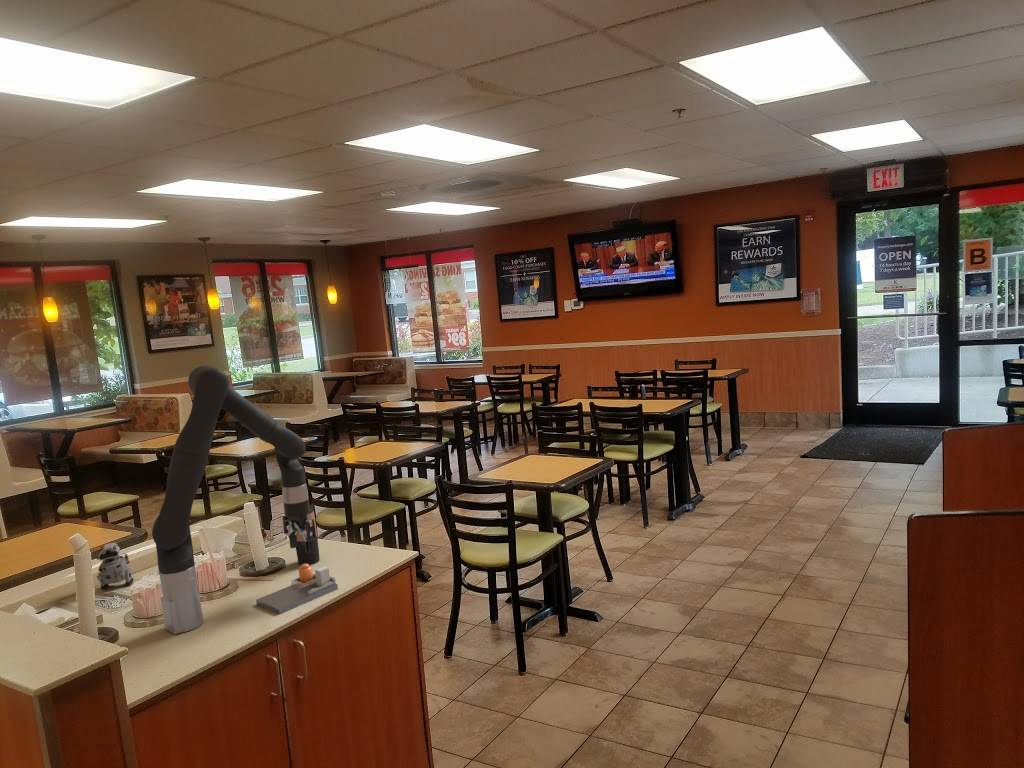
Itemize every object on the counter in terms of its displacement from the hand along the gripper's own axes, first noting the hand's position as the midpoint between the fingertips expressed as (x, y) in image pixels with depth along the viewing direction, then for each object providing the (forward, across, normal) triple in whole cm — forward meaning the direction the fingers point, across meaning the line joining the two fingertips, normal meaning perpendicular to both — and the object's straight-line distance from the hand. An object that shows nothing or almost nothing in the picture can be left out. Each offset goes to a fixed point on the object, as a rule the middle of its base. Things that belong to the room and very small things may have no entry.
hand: (301, 549), depth 223 cm
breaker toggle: (+11, -7, -2) cm, 13 cm away
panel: (+12, -4, +5) cm, 14 cm away
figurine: (+14, +61, +34) cm, 71 cm away
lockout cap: (+11, 0, 0) cm, 11 cm away
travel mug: (+12, +20, -14) cm, 27 cm away
